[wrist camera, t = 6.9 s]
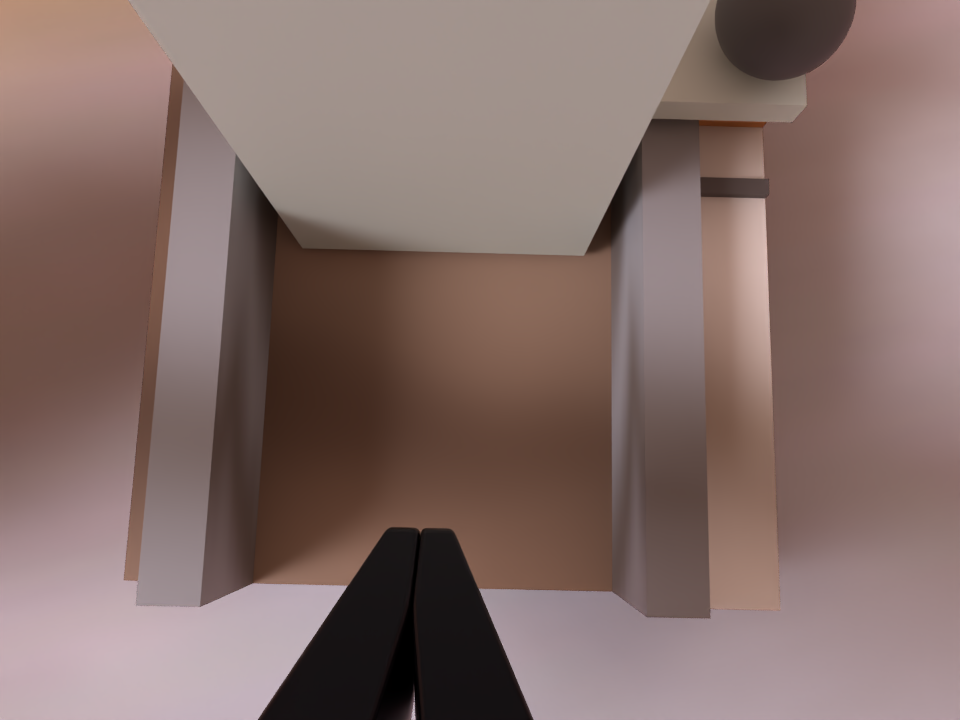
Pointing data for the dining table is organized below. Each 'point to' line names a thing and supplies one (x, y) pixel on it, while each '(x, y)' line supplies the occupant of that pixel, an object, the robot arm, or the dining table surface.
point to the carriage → (476, 104)
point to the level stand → (463, 390)
